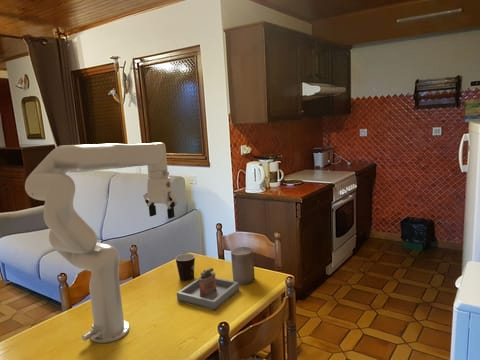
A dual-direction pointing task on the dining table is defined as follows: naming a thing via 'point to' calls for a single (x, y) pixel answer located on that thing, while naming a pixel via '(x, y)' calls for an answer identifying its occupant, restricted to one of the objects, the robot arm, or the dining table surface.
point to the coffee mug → (186, 266)
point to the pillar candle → (243, 265)
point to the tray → (212, 301)
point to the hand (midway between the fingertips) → (162, 216)
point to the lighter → (207, 283)
